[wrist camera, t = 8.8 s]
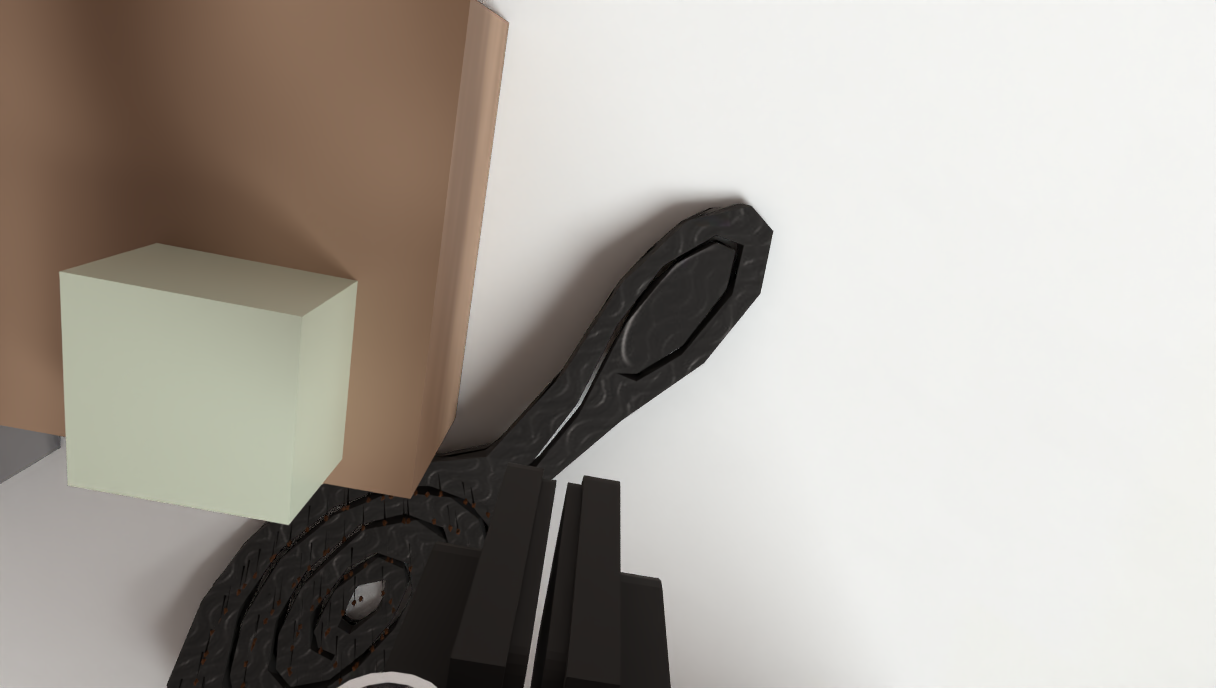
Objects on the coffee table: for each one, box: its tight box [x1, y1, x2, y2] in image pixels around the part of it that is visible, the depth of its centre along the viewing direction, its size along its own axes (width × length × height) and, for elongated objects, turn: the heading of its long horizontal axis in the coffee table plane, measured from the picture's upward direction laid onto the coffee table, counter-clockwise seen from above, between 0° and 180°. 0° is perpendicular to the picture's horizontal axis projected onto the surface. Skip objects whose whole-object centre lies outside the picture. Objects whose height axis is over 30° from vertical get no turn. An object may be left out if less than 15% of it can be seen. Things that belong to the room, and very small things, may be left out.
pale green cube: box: [59, 243, 358, 525], centre depth 16 cm, size 4×4×3 cm
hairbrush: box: [167, 204, 773, 688], centre depth 23 cm, size 8×4×25 cm
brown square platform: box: [0, 0, 509, 499], centre depth 19 cm, size 12×12×5 cm
